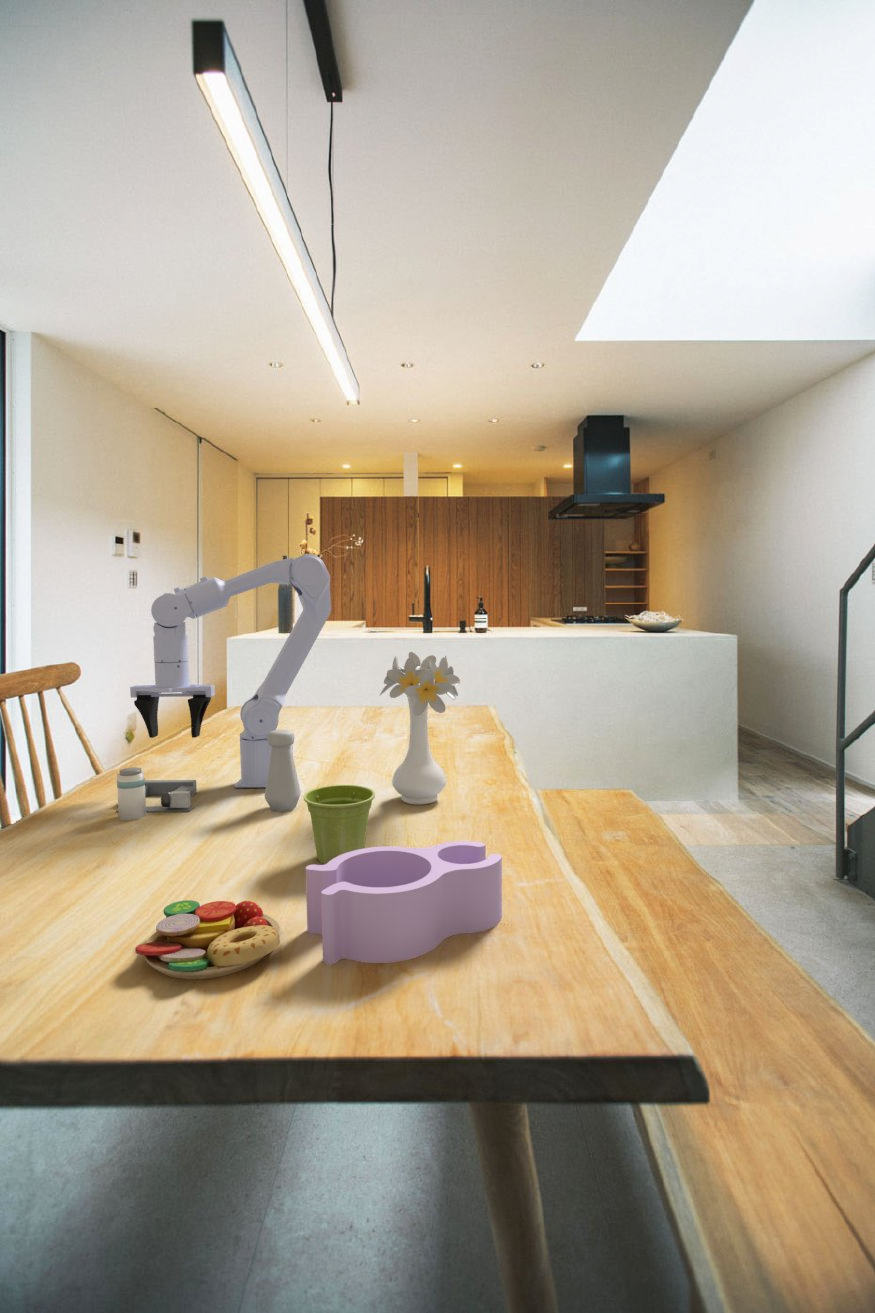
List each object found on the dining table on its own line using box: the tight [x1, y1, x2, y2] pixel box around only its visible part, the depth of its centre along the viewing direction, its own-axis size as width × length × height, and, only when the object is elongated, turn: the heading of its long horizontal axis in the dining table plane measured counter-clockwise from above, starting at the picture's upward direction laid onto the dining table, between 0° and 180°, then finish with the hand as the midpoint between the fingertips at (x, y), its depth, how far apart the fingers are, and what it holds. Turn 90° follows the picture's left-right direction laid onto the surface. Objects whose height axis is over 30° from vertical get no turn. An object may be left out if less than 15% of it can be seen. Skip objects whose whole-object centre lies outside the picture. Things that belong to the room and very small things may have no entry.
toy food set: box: [135, 899, 282, 980], centre depth 68 cm, size 13×13×3 cm
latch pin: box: [160, 791, 192, 808], centre depth 114 cm, size 4×2×2 cm, turn 89°
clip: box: [305, 840, 503, 965], centre depth 72 cm, size 20×12×7 cm, turn 114°
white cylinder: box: [116, 767, 147, 821], centre depth 110 cm, size 4×4×8 cm
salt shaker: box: [264, 728, 302, 813], centre depth 114 cm, size 6×6×13 cm
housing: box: [115, 779, 197, 813], centre depth 118 cm, size 13×12×2 cm
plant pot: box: [303, 784, 376, 865], centre depth 92 cm, size 9×9×9 cm
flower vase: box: [379, 651, 461, 806], centre depth 117 cm, size 13×18×25 cm
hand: (174, 736), depth 125 cm, fingers open, 7 cm apart
